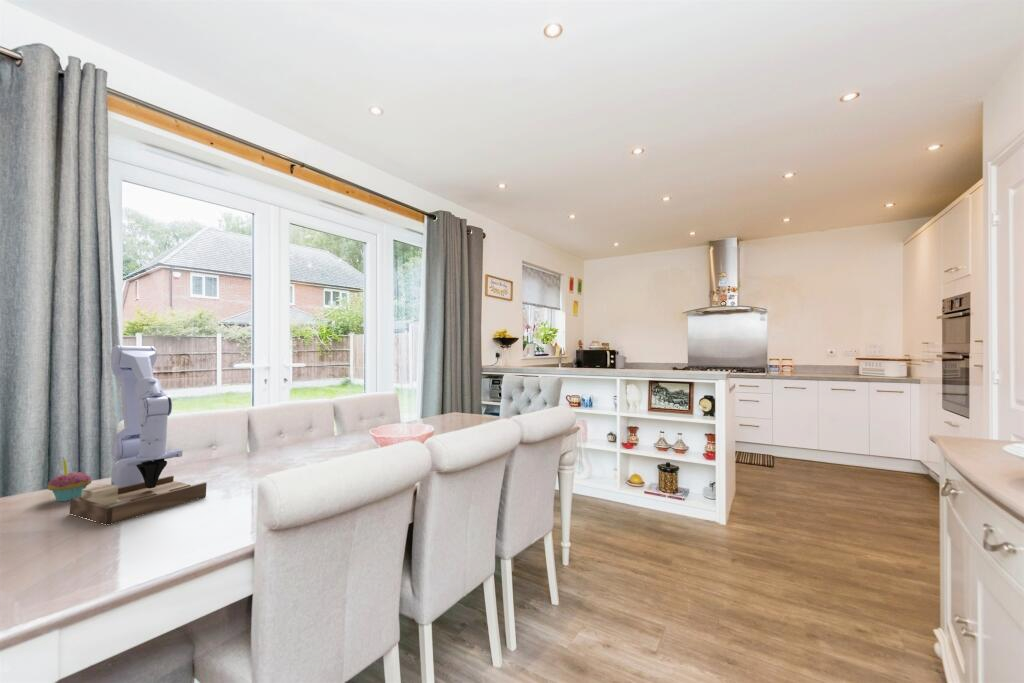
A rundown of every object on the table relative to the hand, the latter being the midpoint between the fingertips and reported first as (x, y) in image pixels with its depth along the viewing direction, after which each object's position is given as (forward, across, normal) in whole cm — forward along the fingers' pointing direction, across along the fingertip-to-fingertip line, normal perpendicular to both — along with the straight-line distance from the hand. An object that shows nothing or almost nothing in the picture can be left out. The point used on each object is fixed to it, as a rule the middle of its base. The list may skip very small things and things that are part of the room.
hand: (150, 487), depth 118 cm
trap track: (+3, -3, -3) cm, 5 cm away
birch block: (+1, -11, 0) cm, 11 cm away
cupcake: (+4, -9, +20) cm, 22 cm away
